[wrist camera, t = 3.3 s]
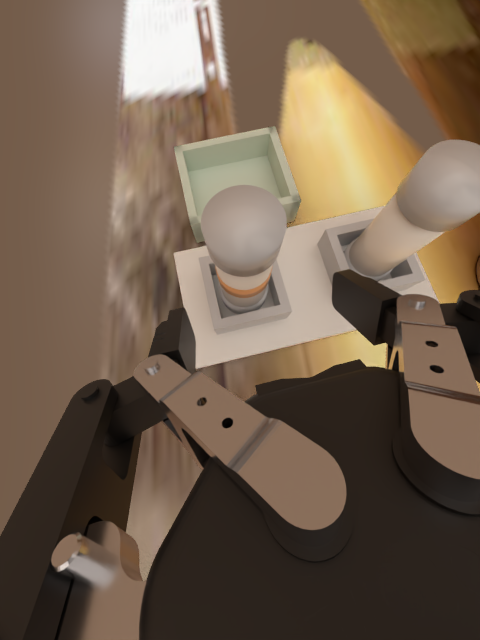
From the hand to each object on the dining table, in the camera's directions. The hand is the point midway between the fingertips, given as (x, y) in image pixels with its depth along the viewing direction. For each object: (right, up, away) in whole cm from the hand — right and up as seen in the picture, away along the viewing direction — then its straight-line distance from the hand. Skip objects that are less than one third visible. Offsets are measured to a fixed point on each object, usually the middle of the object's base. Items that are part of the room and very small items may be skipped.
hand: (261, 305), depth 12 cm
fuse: (+11, +5, +11) cm, 16 cm away
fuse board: (+5, +3, +11) cm, 13 cm away
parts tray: (-2, +13, +14) cm, 19 cm away
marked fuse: (-1, +2, +10) cm, 10 cm away
